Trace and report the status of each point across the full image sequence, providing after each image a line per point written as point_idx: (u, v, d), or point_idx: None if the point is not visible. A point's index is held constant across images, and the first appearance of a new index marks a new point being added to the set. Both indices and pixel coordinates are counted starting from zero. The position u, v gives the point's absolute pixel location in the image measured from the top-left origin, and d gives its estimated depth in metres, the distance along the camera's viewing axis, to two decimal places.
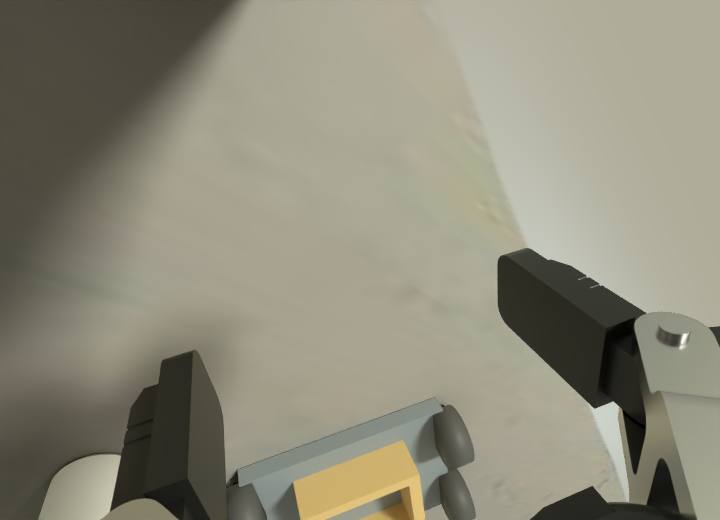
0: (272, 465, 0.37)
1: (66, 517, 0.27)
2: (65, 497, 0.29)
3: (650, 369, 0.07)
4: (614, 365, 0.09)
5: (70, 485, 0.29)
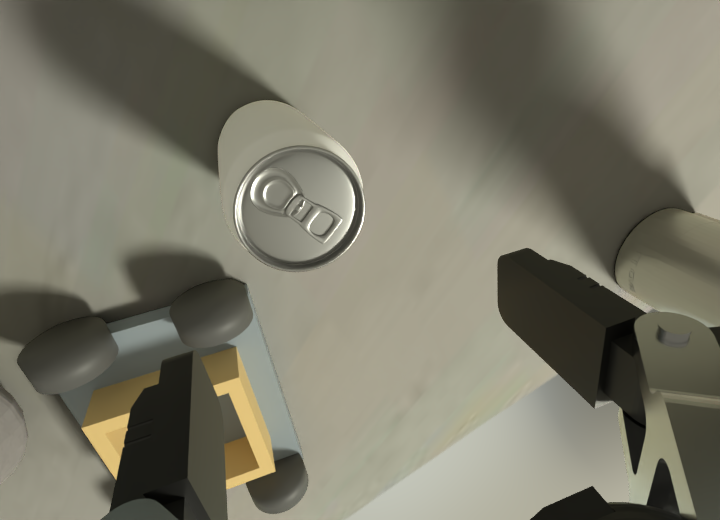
0: (258, 320, 0.33)
1: None
2: None
3: (650, 369, 0.07)
4: (614, 365, 0.09)
5: None
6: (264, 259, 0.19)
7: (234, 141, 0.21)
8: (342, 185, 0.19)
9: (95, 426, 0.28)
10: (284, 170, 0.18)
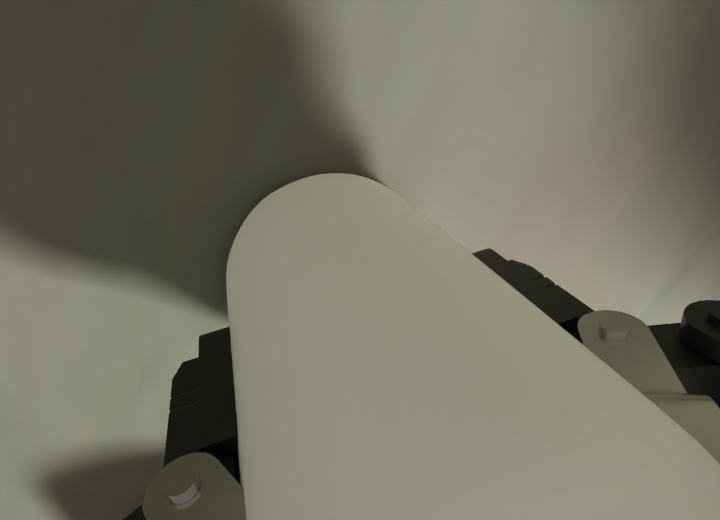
0: None
1: None
2: None
3: None
4: None
5: None
6: None
7: (292, 386, 0.06)
8: None
9: None
10: None
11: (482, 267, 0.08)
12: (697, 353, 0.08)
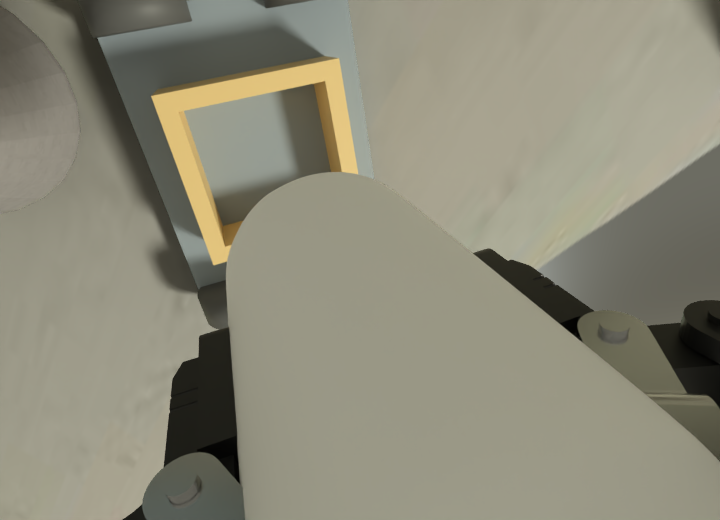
0: None
1: None
2: None
3: None
4: None
5: None
6: None
7: (291, 384, 0.06)
8: None
9: (168, 97, 0.23)
10: None
11: (482, 265, 0.08)
12: (698, 353, 0.08)
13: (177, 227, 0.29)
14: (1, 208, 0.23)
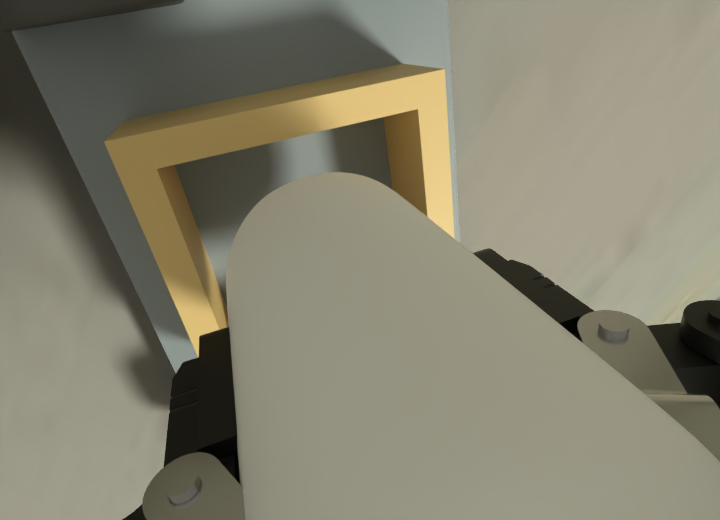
0: None
1: None
2: None
3: None
4: None
5: None
6: None
7: (291, 384, 0.06)
8: None
9: (136, 143, 0.12)
10: None
11: (482, 266, 0.08)
12: (697, 353, 0.08)
13: (162, 331, 0.18)
14: None
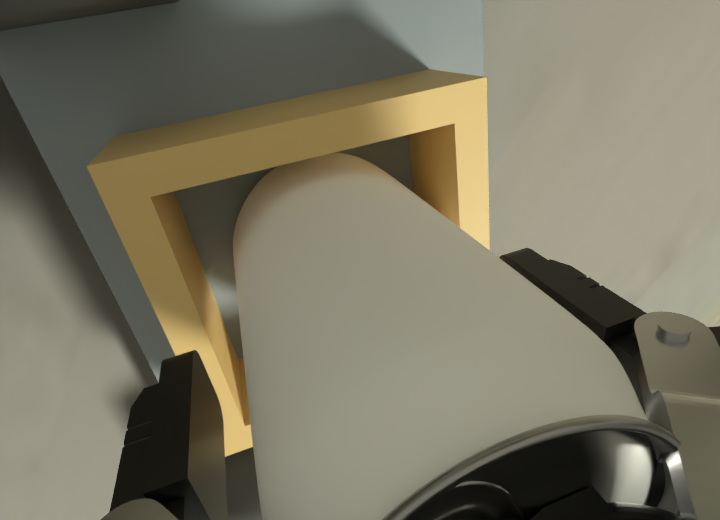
0: None
1: None
2: None
3: (650, 369, 0.07)
4: None
5: None
6: None
7: (288, 303, 0.08)
8: (630, 478, 0.06)
9: (126, 167, 0.10)
10: (487, 485, 0.05)
11: (448, 221, 0.10)
12: None
13: (159, 369, 0.17)
14: None
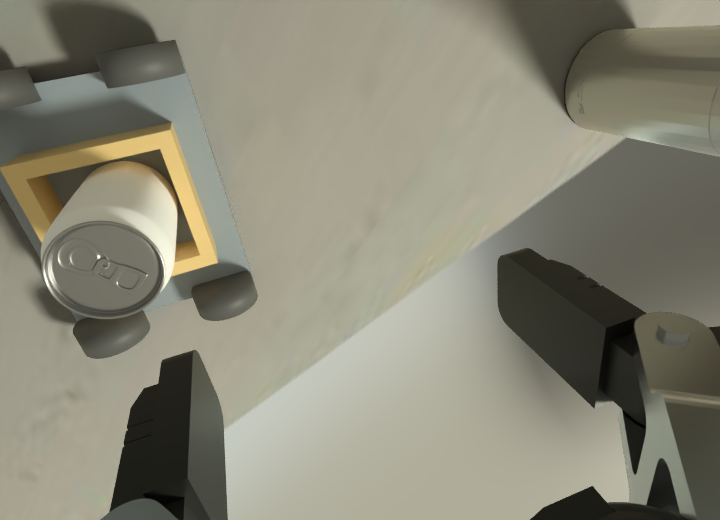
0: (194, 98, 0.32)
1: (174, 213, 0.30)
2: (172, 200, 0.31)
3: (650, 369, 0.07)
4: (614, 365, 0.09)
5: (173, 198, 0.32)
6: (79, 310, 0.23)
7: None
8: (142, 248, 0.23)
9: (15, 168, 0.27)
10: (85, 240, 0.22)
11: (137, 186, 0.27)
12: None
13: None
14: None
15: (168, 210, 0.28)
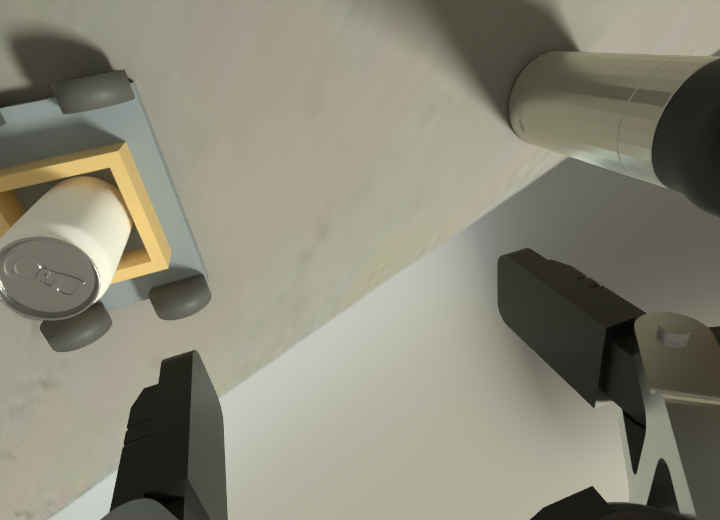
0: (147, 119, 0.36)
1: (123, 225, 0.33)
2: (124, 213, 0.34)
3: (650, 369, 0.07)
4: (614, 365, 0.09)
5: (126, 210, 0.35)
6: (24, 312, 0.27)
7: None
8: (78, 260, 0.27)
9: None
10: (27, 252, 0.26)
11: (85, 202, 0.30)
12: None
13: None
14: None
15: (114, 223, 0.31)
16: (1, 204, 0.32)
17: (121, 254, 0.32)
